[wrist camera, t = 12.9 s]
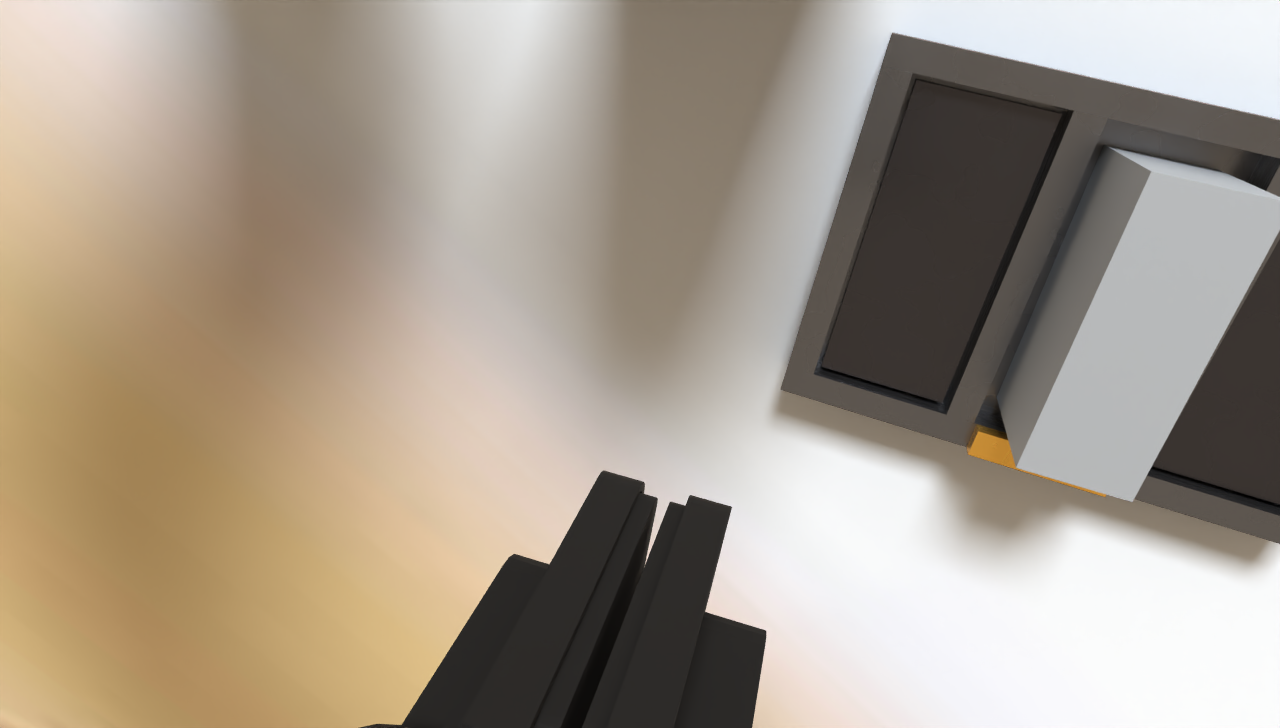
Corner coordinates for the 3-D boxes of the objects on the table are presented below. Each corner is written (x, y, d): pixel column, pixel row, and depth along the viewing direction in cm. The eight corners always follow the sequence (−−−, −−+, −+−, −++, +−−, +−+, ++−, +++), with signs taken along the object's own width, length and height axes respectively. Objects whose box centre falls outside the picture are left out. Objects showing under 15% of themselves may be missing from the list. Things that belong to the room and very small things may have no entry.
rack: (892, 32, 28) (891, 33, 25) (1519, 173, 24) (1592, 190, 22) (787, 367, 33) (778, 395, 31) (1286, 518, 30) (1323, 565, 27)
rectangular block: (1104, 144, 27) (1151, 171, 22) (1218, 170, 26) (1294, 203, 21) (996, 397, 31) (1015, 467, 26) (1093, 424, 30) (1132, 502, 25)
